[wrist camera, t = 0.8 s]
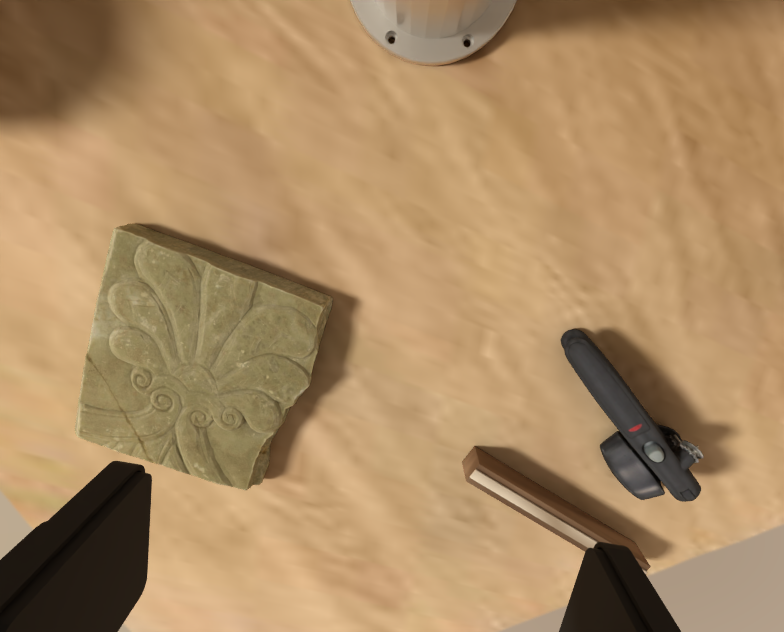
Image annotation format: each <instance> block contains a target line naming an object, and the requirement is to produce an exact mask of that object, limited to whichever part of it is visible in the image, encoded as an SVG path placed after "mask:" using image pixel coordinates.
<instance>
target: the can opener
mask: <svg viewBox="0 0 784 632" xmlns="http://www.w3.org/2000/svg"><path fill="white" fill-rule="evenodd" d="M561 344H562V347H563V348H564V350H565V355H566V357H567V359H568V361H569V362H570V364H571V365H572V367H573V368H574V370H575V371H576V373H577V374H578V376H579V377H580V379H581V380H582V382H583V383H584V385H585V386H586V387H587V389H588V390H589V392H590V393H591V395H592V396H593V397H594V399H595V400H596V402H597V403H598V404H599V406H600V407H601V408H602V409H603V411H604V412H605V413H606V415H607V416H608V417H609V418H610V420H611V421H612V422H613V423H614V425H615V426H616V427H617V429H618V430H619V431H620V432H619V431H617V432H616V433H614V434H613V435H612V436H610V437H609V438H608V439H606V440H605V441H604V442H603V443H602V444H601V445H600V449H601V452H602V454H603V457H604V459H605V461H606V463H607V465H608V467H609V468H610V470H611V471H612V473H613V474H614V476H615V477H616V478H617V479H618V481H619V482H620V483H621V484H622V485H623V486H624V487H625V488H626V489H627V490H628V491H629V492H631V493H632V494H633V495H634V496H635V497H637V498H639V499H641V500H644V499H649V498H653V497H657V496H660V495H664V494H665V492H664V490H663V488H662V486H661V483H660V482H661V481H662V483H663V484H664V485H665V486H666V488H667V489H668V490H669V491H670V493H671V494H672V495H673V496H674V498H675V499H677V500H679V501H685V502H686V501H693V500H695V499H696V498H697V497H698V495H699V494H700V491H701V487H700V485H699V483H698V482H697V480H696V479H695V477H694V476H693V475H692V473H691V472H690V470H689V467H690V466H691V465H692V464H693V463H696V462H697V463H698V462H699V461H698V460H699V459H700V458H704V456H703V454H702V452H701V451H700V450H699V449H698V448H699V446H698V445H697V446H694V445H693V444H691V443H690V442H688V441H685V440H681V438H680V436H679V434H678V433H677V432H676V431H674V430H673V429H671V428H668V427H665V426H661V425H657V424H656V423H655V422H654V421H653V420H652V418H651V417H650V416H649V415H648V413H647V412H646V411H645V409H644V408H643V406H642V405H641V404H640V402H639V401H638V399H637V398H636V397H635V395H634V394H633V392H632V391H631V389H630V388H629V387H628V385H627V384H626V383H625V381H624V380H623V379H622V377H621V376H620V375H619V373H618V372H617V371H616V369H615V368H614V367H613V365H612V364H611V363H610V362H609V361H608V359H607V358H606V357H605V356H604V355H603V353H602V352H601V351H600V350H599V349H598V347H597V346H596V345H595V344H594V343H593V342H592V341H591V340H590V339H589V338H588V336H587V335H586V334H585V333H583V332H582V331H580V330H577V329H572V330H568V331H566V332H565V333H564V334H563V336H562V338H561ZM698 458H699V459H698Z"/></svg>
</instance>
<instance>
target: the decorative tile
mask: <svg viewBox="0 0 784 632" xmlns="http://www.w3.org/2000/svg"><path fill="white" fill-rule="evenodd" d="M332 302H333V298H332V297H331V296H328V295H326V294H323V293H321V292H318V291H316V290H313V289H310V288H308V287H305V286H303V285H300V284H298V283H295V282H292V281H290V280H287V279H285V278H282V277H280V276H277V275H274V274H272V273H269V272H267V271H264V270H261V269H259V268H256V267H254V266H251V265H248V264H245V263H243V262H240V261H237V260H234V259H231V258H229V257H226V256H223V255H220V254H218V253H215V252H212V251H210V250H207V249H204V248H202V247H199V246H196V245H194V244H191V243H188V242H185V241H182V240H180V239H177V238H174V237H171V236H168V235H166V234H163V233H160V232H157V231H155V230H152V229H149V228H147V227H144V226H141V225H138V224H127V225H125V226H119V227H116V228H114V231H113V234H112V238H111V242H110V246H109V250H108V254H107V259H106V264H105V268H104V273H103V277H102V282H101V286H100V290H99V294H98V298H97V303H96V308H95V313H94V319H93V324H92V329H91V335H90V340H89V345H88V351H87V355H86V358H85V365H84V370H83V376H82V384H81V390H80V396H79V402H78V410H77V418H76V424H75V433H76V435H77V436H78V437H79V438H82V439H84V440H86V441H89V442H93V443H96V444H98V445H101V446H104V447H107V448H109V449H112V450H114V451H117V452H119V453H123V454H126V455H130V456H133V457H136V458H140V459H143V460H146V461H149V462H152V463H156V464H160V465H163V466H165V467H168V468H171V469H174V470H177V471H179V472H183V473H187V474H190V475H193V476H196V477H199V478H201V479H204V480H207V481H210V482H213V483H216V484H220V485H226V486H231V487H235V488H238V489H242V490H247V489H249V488H250V487H251V486H252V485H259V484H261V483H262V481H263V478H264V475H265V473H266V471H267V468H268V465H269V461H270V460H269V457H270V444H271V442H272V439H273V437H274V436H275V434H276V433H277V431H278V429H279V427H280V426H282V424H283V423H284V422H285V419H286V416H287V414H288V411H289V407H291V406H293V405H294V404H295V403H296V401H297V399H298V398H299V397H300V396H301V395H302V393H303V391H305V390H306V389H307V388H308V387H309V386H310V383H311V379H312V369H313V366H314V363H315V360H316V356H317V353H318V350H319V343H320V341H321V339H322V335H323V332H324V329H325V326H326V321H327V319H328V318H329V313H330V311H331V307H332Z"/></svg>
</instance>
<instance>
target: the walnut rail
mask: <svg viewBox="0 0 784 632" xmlns="http://www.w3.org/2000/svg"><path fill="white" fill-rule="evenodd" d="M462 463H463V468H464V473H465V478H466V481H467V482H468V483H470V484H472V485H474V486H475V487H477V488H479V489H480V490H482V491H484V492H485V493H487V494H489V495H490V496H492V497H494V498H496V499H497V500H499V501H501V502H502V503H504V504H506V505H507V506H509V507H511V508H512V509H514V510H516V511H517V512H519V513H521V514H523V515H524V516H526V517H528V518H529V519H531V520H533V521H534V522H536V523H538V524H539V525H541V526H543V527H545V528H546V529H548V530H550V531H551V532H553V533H555V534H556V535H558V536H560V537H561V538H563V539H565V540H567V541H568V542H570V543H572V544H573V545H575V546H577V547H578V548H580V549H582V550H583V551H585V552H586V550H587V549H588V548H594V546H595V544H596V543H597V542H605V543H611V544H617V545H623V546H626V547H628V548H629V549H630V551H631V552H632V554H633V555H634V557H635V558H636V560H637V562H638V563H639V565H640V566H641V568H642V570H643V571H644V573H645V574H647V570H648V569H649V568H650V565H649V564H648V562H647V560H646V559H645V557H644V556H643V554H642V553H641V551H640V550H639V548H638V546H637V545H636V543H635V542H633V541H631V540H630V539H628V538H626V537H625V536H623V535H621V534H620V533H618V532H616V531H615V530H613V529H611V528H610V527H608V526H606V525H605V524H603V523H601V522H600V521H598V520H597V519H595V518H593V517H592V516H590V515H588V514H587V513H585V512H583V511H582V510H580V509H578V508H577V507H575V506H573V505H572V504H570V503H568V502H567V501H565V500H563V499H562V498H560V497H558V496H557V495H555V494H553V493H552V492H550V491H548V490H547V489H545V488H543V487H542V486H540V485H539V484H537V483H535V482H534V481H532V480H530V479H529V478H527V477H525V476H524V475H522V474H520V473H519V472H517V471H515V470H514V469H512V468H510V467H509V466H507V465H505V464H504V463H502V462H500V461H499V460H497V459H495V458H494V457H492V456H490V455H489V454H487V453H486V452H484V451H482V450H481V449H479V448H477V447H476V446H474V447H473V449H472V450H471V451H470V453H469V454H468V455H467V456H466V458H465V459H464V460H463V461H462Z"/></svg>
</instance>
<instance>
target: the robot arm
mask: <svg viewBox="0 0 784 632" xmlns="http://www.w3.org/2000/svg"><path fill="white" fill-rule="evenodd" d="M350 1H351V4H352V6H353V9H354V12H355V14H356V16H357V18H358V19H359V21H360V23H361V25H362V26H363V28H364V30H365V31H366V32H367V33H368V34H369V36H370V37H371V38H372V39H373V40H374V41H375V43H376V44H378V45H379V46H380V47H382V48H383V49H384V50H385V51H387V52H388V53H389V54H391V55H393V56H395V57H397V58H399V59H401V60H403V61H406V62H410V63H414V64H418V65H430V66H437V65H443V64H450V63H453V62H456V61H459V60H461V59H464V58H466V57H468V56H470V55H472V54H473V53H475V52H476V51H478V50H480V49H481V48H482V47H484V46H485V45H486V44H487V43H488V42H489V41H490V40H491V39H492V38H493V37H494V36H495V35H496V34H497V33H498V31H499V30H500V29H501V27H502V26H503V25H504V23H505V22H506V20H507V19H508V17H509V15H510V13H511V12H512V10H513V8H514V5H515V3H516V1H517V0H350ZM391 37H392V38H394V39H395V42H394V43H393V44H390V43H389V42H388V40H389V38H391ZM464 41H469V43H470V46H469V47H465V46H464V44H463V43H464ZM151 486H152V477H151V475H150V474H148V473H145V469H144V466H142V465H138V464H132V463H127V462H121V461H113V462H111V463H110V464H109V465H108V466H107V467H105V468H104V469H103V470H102V471H101V472H100V473H99V474H98V475H97V476H96V477H95V478H94V479H92V480H91V481H90V482H89V483H88V484H87V485H86V486H85V487H84V488H83V489H82V490H81V491H80V492H78V493H77V494H76V495H75V496H74V497H73V498H72V499H71V500H70V501H69V502H68V503H67V504H65V505H64V506H63V507H62V508H61V509H60V510H59V511H58V512H57V513H56V514H55V515H54V516H52V517H51V518H50V519H49V520H48V521H46V522H43V523H42V524H40V525H39V526H37V527H36V528H35V529H34V530H33V531H32V532H30V533H29V534H28V535H27V536H26V537H25V538H24V539H23V540H22V541H21V542H19V543H18V544H17V545H16V546H15V547H14V548H13V549H12V550H11V551H10V552H9V553H8V554H6V555H5V556H4V557H3V558H2V559H1V560H0V632H118V630H119V629H120V627H121V626H122V624H123V623H124V621H125V620H126V618H127V616H128V615H129V613H130V612H131V610H132V609H133V607H134V606H135V604H136V603H137V601H138V600H139V598H140V596H141V594H142V592H143V590H144V587H145V584H146V580H147V569H148V548H149V527H150V507H151ZM559 632H681V631H680V629H679V627H678V626H677V624H676V623H675V621H674V619H673V618H672V616H671V615H670V613H669V611H668V610H667V608H666V607H665V605H664V603H663V602H662V600H661V598H660V597H659V595H658V594H657V592H656V590H655V589H654V587H653V586H652V584H651V582H650V581H649V579H648V578H647V576H646V574H645V573H644V571H643V570H642V568H641V566H640V565H639V563H638V562H637V560H636V558H635V557H634V555H633V554H632V552H631V551H630V549H629V548H628V547H626V546H623V545H617V544H611V543H605V542H597V543H596V544H595V546H594V548H588V549H587V550H586V552H585V555H584V558H583V561H582V564H581V567H580V570H579V573H578V576H577V579H576V582H575V585H574V588H573V591H572V594H571V597H570V600H569V603H568V606H567V609H566V612H565V616H564V618H563V622H562V624H561V627H560V630H559Z"/></svg>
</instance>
